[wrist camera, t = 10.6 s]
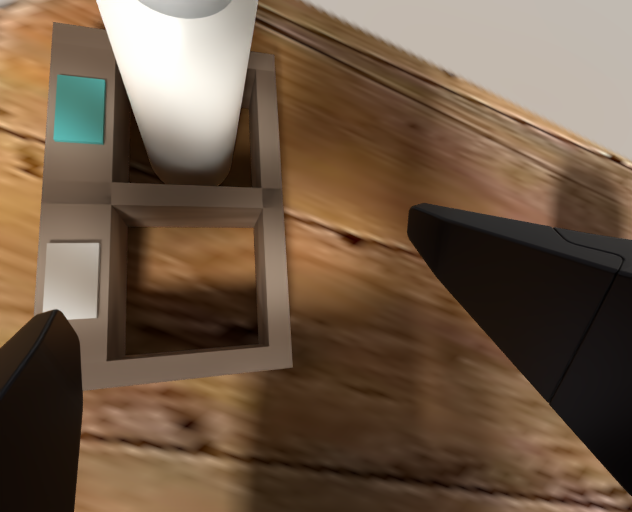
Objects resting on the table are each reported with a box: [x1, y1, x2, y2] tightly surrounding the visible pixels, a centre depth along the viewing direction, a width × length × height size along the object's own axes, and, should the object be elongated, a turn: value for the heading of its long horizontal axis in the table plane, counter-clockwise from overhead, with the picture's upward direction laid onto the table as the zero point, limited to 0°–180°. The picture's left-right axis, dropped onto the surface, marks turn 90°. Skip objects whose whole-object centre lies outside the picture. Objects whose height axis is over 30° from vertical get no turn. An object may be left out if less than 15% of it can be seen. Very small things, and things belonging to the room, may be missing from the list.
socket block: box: [34, 22, 293, 391], centre depth 18 cm, size 16×10×4 cm, turn 4°
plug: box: [96, 0, 258, 186], centre depth 14 cm, size 4×4×12 cm
